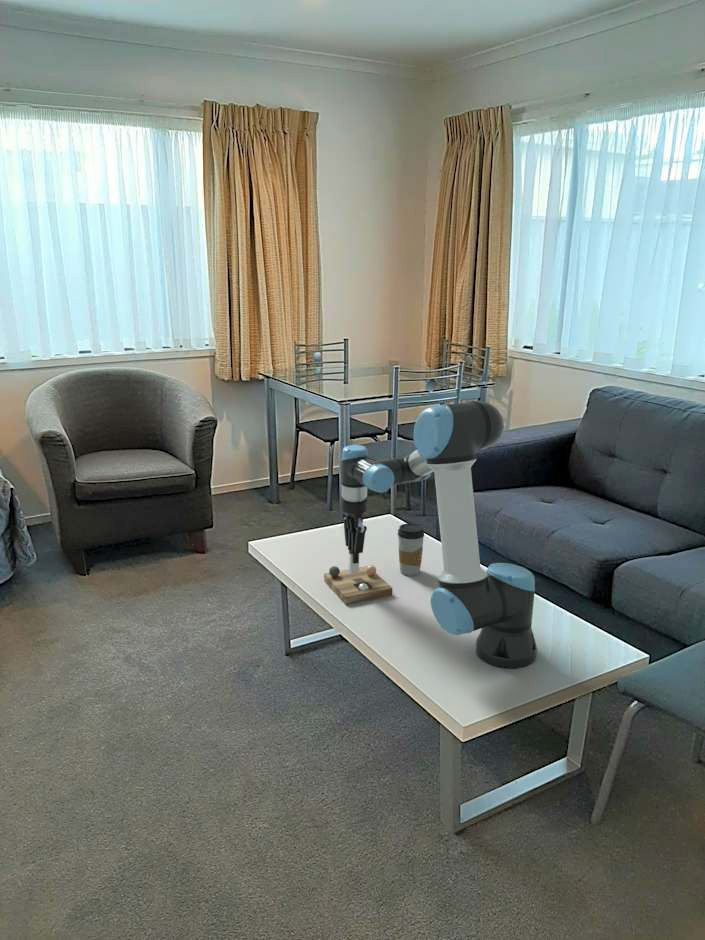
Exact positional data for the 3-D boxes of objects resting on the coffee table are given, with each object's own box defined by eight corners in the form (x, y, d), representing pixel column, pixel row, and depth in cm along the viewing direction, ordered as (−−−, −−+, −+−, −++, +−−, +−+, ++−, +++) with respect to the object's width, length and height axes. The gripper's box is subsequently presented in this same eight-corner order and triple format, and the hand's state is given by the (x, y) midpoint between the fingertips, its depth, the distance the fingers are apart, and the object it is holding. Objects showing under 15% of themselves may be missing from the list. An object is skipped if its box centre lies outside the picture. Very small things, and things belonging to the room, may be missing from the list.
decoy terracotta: (377, 576, 227) (378, 566, 226) (368, 578, 226) (368, 568, 225) (373, 572, 230) (373, 562, 229) (364, 574, 228) (364, 564, 227)
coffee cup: (413, 579, 230) (415, 534, 226) (391, 572, 235) (392, 528, 231) (428, 570, 237) (429, 526, 232) (406, 564, 242) (407, 520, 237)
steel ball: (371, 593, 219) (369, 581, 219) (361, 595, 218) (359, 583, 218) (367, 594, 222) (365, 582, 223) (357, 596, 221) (355, 584, 221)
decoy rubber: (341, 577, 226) (341, 567, 225) (331, 579, 225) (331, 569, 224) (337, 573, 229) (337, 563, 228) (327, 575, 227) (327, 565, 226)
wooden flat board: (392, 595, 220) (392, 587, 219) (345, 604, 214) (345, 596, 213) (368, 573, 235) (368, 565, 234) (324, 581, 229) (324, 573, 228)
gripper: (375, 503, 214) (374, 578, 221) (357, 489, 226) (356, 561, 233) (351, 506, 211) (350, 582, 218) (334, 492, 223) (334, 565, 230)
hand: (353, 571), depth 226 cm, fingers closed
